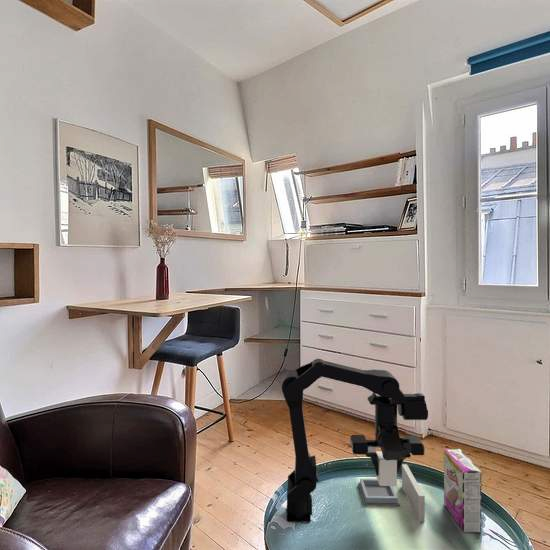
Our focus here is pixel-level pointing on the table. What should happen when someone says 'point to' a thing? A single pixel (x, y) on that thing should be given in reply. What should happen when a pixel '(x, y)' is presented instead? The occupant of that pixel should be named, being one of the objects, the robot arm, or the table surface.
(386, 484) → the block
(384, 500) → the frame
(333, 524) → the table surface
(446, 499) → the candy bar box
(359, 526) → the table surface
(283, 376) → the robot arm
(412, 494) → the wall stub
